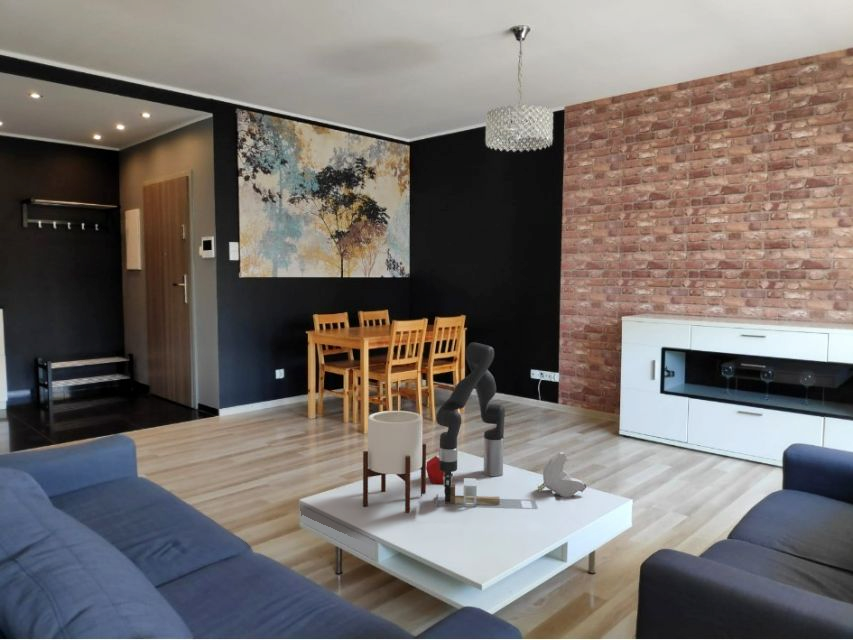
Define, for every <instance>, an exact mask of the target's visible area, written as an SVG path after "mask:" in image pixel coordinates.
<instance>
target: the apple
mask: <svg viewBox="0 0 853 640" xmlns="http://www.w3.org/2000/svg"><path fill="white" fill-rule="evenodd" d="M443 473H445V472H444V471H440V470H439V456H436V455H435V456H433V457H431V458H430V459H429V460H428V461H427V460H426V475H427V477H428V480H429V482H430V483H432V484H434V485H435V486H437V485H439V486H440V485H444V480H443Z"/></svg>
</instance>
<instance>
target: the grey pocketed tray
mask: <svg viewBox="0 0 853 640" xmlns="http://www.w3.org/2000/svg"><path fill="white" fill-rule="evenodd" d="M477 486H478V485H477V478H475V477H474V478H471V477H470V478H468V477H467V478H465V477H464V478H463V496H464V504H458V503H455V504H445V496H442V497H441V496H439V494H437V493H436V496H435V502H434V503H435V505H434V507H453V508H479V509H480V508H484V509H485V508H486V509H487V508H488V509H517V510H518V509H520V510H521V509H522V510H538V509H539V508H538V505H537V502H536V500H535V499H522V498H521V499H516V498H515V499H514V498H500V505H497V504H476V496H477V491H478V490H477V489H478V488H477ZM466 496H474V503H466ZM522 501H525V502H526V501H530V503H531V506H532V507H523V504H522Z"/></svg>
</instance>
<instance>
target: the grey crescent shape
mask: <svg viewBox="0 0 853 640" xmlns="http://www.w3.org/2000/svg"><path fill="white" fill-rule="evenodd" d="M566 461H567V457H566V454H565V453H564V452H561V451H560V452H558V453H557V454H555V455H554V456H552V457H551V458H550V459H549V460H548V462H547V464H546V465H545V467H544V468H543V471H542V476H543V477H542V479H543V483H542V484H541V485H537V490H538V492H539V493H541V491H543V490H544V489H545V488H547V489H548V490H550V491H552V492H554V493H556V494H557V496H560V497H572V496H573V495H575V494H576V493H577V492H581V493H583V492H584V491H585V490H586V488H587V485H586V483H584V482H582V480H580V479H577V478H574V477H571V476H569V474H568V473H567V472H566V470H564V466H565V464H566Z"/></svg>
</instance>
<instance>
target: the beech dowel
mask: <svg viewBox="0 0 853 640" xmlns="http://www.w3.org/2000/svg"><path fill="white" fill-rule="evenodd" d="M500 499H501V498H500V496H492V495H490V496H489V495H488V496H485V495H484V496H483V495H476V504H497V505H500ZM455 503H458V504H464V495H455ZM466 503H474V496H466Z"/></svg>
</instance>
